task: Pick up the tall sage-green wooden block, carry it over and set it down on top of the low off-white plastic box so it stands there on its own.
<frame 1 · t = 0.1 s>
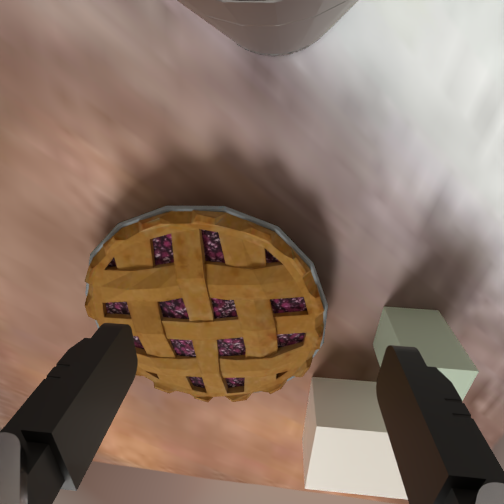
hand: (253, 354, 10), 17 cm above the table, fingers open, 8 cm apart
pie: (212, 295, 31), on the table
sage block: (403, 328, 31), on the table
base box: (356, 412, 38), on the table
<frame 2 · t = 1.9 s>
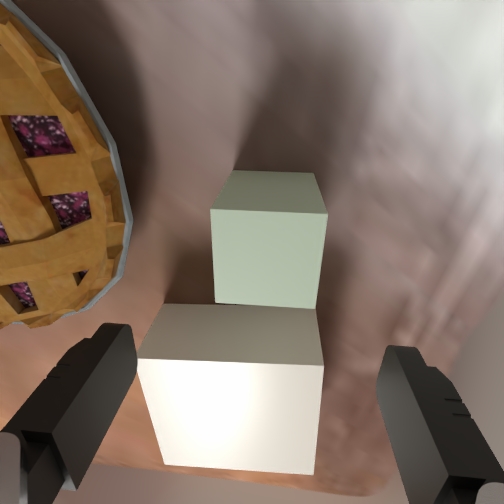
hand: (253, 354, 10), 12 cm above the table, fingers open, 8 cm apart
sage block: (271, 209, 21), on the table
base box: (241, 358, 28), on the table
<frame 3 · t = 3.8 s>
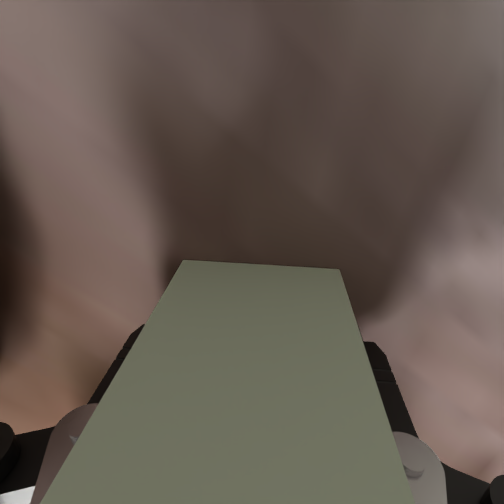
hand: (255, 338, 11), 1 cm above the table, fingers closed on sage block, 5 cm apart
sage block: (257, 325, 11), on the table, touching gripper
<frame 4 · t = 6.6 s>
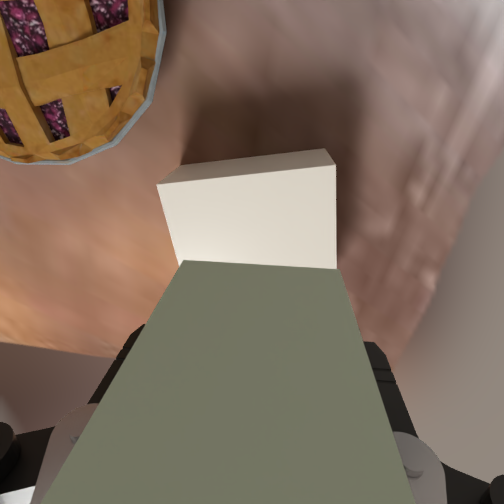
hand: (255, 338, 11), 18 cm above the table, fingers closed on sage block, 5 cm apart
sage block: (257, 325, 11), point 18 cm above the table, touching gripper
base box: (259, 223, 29), on the table
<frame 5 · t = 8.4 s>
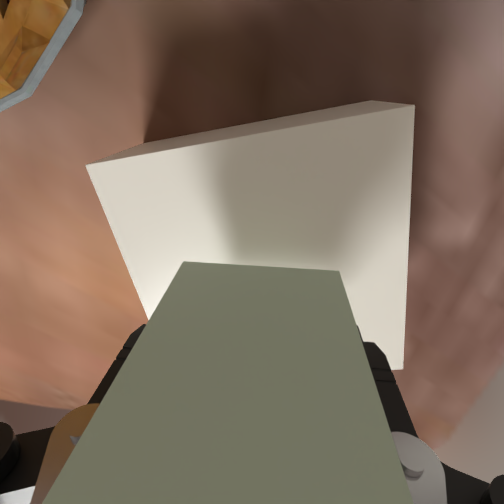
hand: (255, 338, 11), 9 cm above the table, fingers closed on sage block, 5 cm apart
sage block: (257, 326, 11), point 9 cm above the table, touching gripper
base box: (268, 226, 19), on the table
when the fingers open (8 cm above the table, at t = 9.5 s): sage block drops 2 cm, point 6 cm above the table.
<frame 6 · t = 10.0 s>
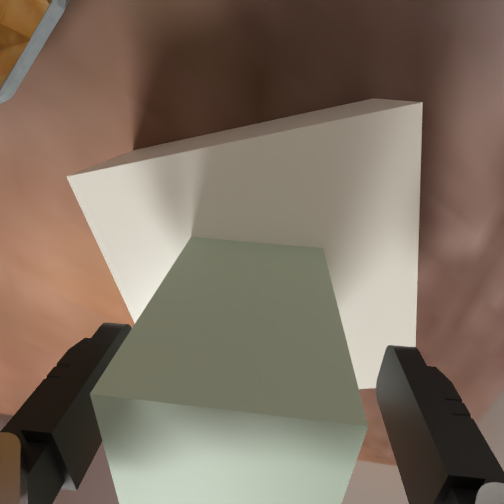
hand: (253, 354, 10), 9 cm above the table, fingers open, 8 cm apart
sage block: (252, 297, 13), point 6 cm above the table
base box: (267, 234, 18), on the table
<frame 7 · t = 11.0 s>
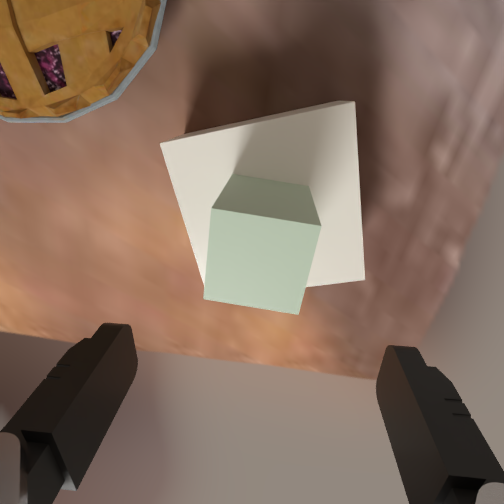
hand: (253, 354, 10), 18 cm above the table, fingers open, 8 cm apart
sage block: (264, 216, 21), point 6 cm above the table, touching base box
base box: (272, 192, 27), on the table, touching sage block
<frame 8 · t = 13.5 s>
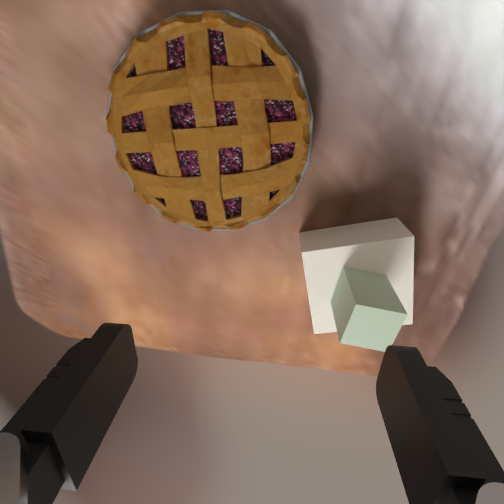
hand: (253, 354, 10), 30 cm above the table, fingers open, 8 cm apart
pie: (215, 133, 36), on the table
sage block: (357, 288, 37), point 6 cm above the table
base box: (349, 264, 42), on the table
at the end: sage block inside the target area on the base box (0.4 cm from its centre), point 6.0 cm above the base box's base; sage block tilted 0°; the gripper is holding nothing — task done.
